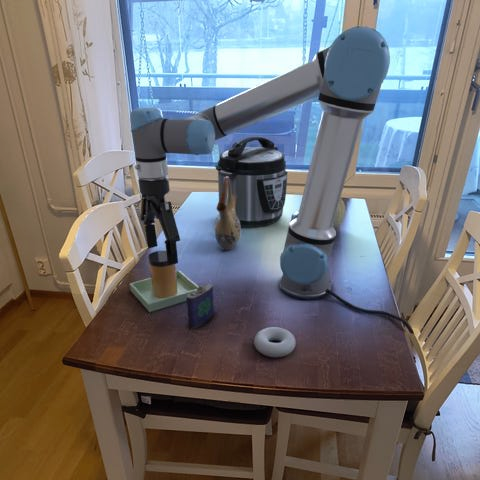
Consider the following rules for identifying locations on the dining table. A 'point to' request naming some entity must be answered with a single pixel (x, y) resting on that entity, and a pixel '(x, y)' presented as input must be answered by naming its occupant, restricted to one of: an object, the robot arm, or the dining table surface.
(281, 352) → the donut
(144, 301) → the serving tray
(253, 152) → the pressure cooker
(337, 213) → the cantaloupe
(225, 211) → the ceramic vessel
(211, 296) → the flask
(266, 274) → the dining table surface
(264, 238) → the dining table surface
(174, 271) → the jar
